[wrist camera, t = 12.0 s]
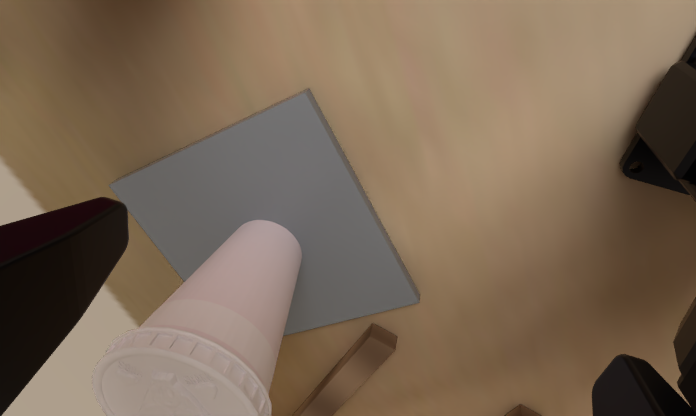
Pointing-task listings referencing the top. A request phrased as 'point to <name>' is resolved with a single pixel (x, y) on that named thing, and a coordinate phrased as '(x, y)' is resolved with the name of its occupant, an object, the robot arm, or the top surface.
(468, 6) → the top surface
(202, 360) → the smoothie
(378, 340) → the lane
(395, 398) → the top surface
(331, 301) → the plate
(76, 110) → the top surface
